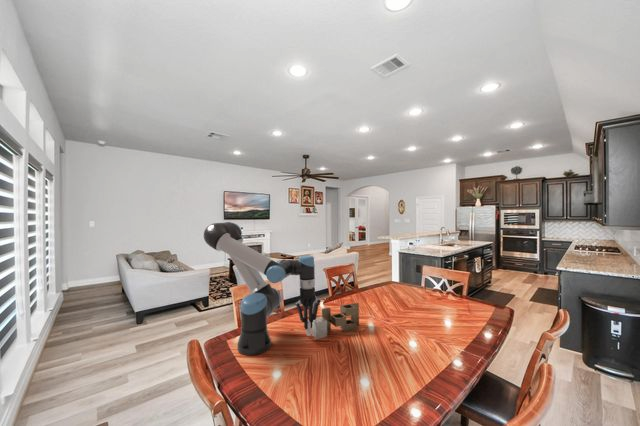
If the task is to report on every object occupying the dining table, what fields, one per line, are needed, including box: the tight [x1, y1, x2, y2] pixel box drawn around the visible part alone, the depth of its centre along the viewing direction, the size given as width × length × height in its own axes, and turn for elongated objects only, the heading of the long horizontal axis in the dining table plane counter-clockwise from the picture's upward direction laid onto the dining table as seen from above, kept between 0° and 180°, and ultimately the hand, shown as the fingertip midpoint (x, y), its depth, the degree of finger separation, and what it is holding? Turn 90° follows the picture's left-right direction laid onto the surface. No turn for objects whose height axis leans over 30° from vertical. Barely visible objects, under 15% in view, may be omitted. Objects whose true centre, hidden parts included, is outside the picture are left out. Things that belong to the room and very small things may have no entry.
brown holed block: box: [339, 302, 360, 333], centre depth 143 cm, size 11×6×12 cm, turn 114°
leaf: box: [311, 307, 347, 340], centre depth 137 cm, size 17×6×12 cm, turn 114°
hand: (308, 334), depth 132 cm, fingers closed
